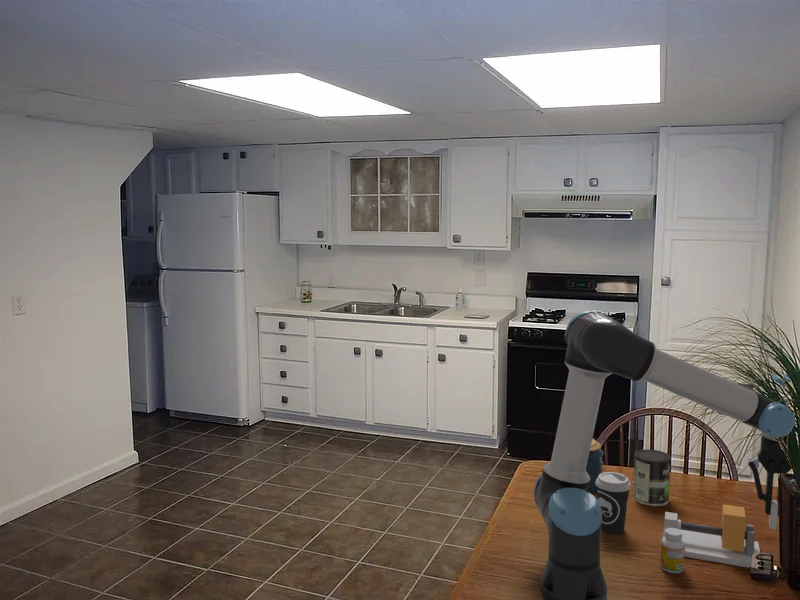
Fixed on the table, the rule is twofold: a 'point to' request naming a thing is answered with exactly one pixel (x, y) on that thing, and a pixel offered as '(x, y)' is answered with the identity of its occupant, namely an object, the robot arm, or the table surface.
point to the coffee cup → (613, 501)
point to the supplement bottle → (672, 551)
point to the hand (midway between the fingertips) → (772, 526)
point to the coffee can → (652, 477)
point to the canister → (594, 465)
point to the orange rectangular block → (733, 527)
